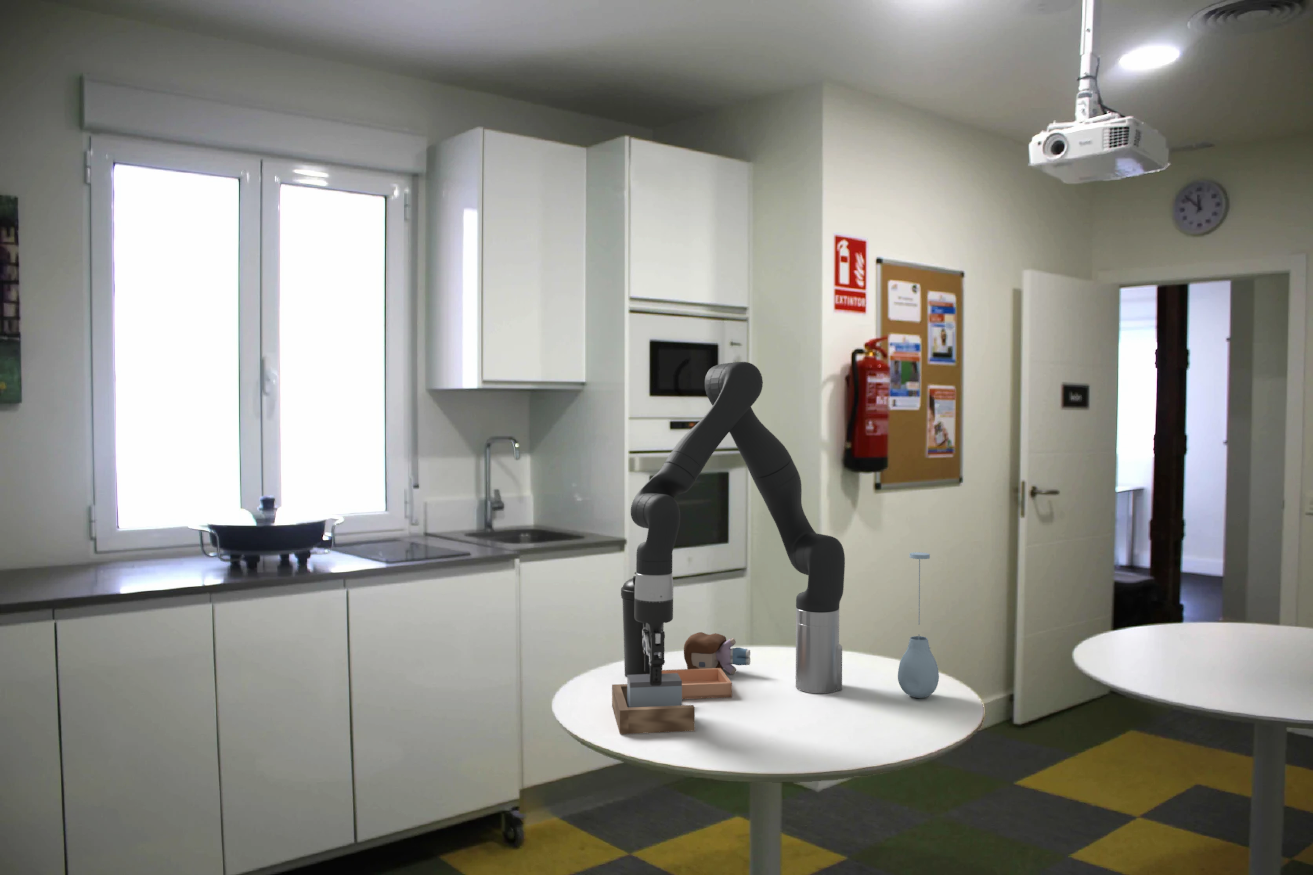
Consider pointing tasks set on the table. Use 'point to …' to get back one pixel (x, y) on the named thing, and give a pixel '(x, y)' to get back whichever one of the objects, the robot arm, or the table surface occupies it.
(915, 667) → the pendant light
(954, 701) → the table surface
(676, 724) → the bay
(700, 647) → the toy
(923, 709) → the table surface
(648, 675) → the grey rectangular prism
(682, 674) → the tray
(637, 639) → the water bottle
